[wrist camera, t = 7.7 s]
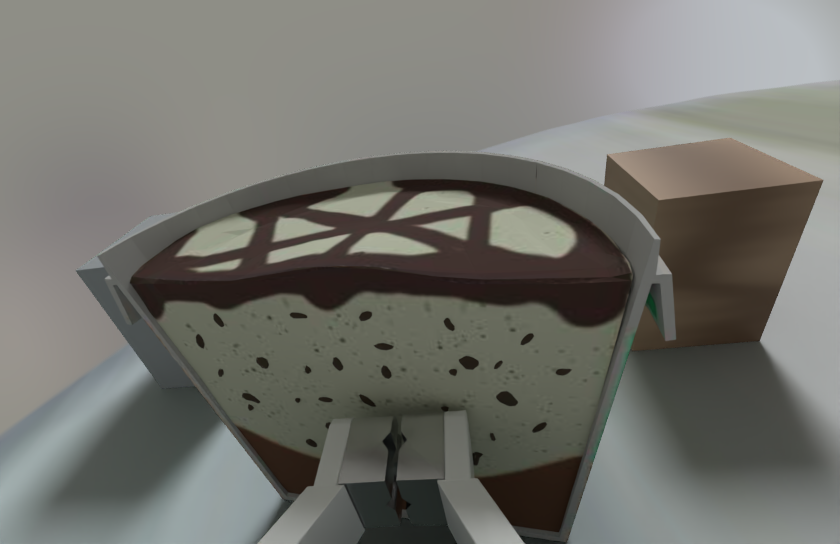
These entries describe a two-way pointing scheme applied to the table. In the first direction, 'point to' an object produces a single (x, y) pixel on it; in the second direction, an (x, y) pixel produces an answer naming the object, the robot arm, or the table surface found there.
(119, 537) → the table surface
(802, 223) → the walnut block
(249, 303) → the food container
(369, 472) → the robot arm
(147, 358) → the slate block
